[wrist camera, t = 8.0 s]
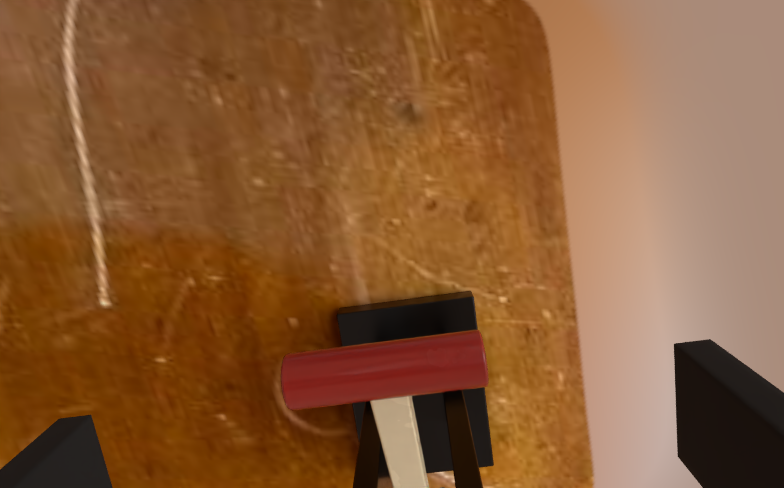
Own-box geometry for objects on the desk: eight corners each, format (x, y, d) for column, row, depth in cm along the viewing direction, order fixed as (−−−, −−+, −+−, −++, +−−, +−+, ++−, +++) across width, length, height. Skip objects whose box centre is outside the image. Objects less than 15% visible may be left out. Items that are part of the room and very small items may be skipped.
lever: (285, 331, 16) (274, 400, 14) (475, 307, 16) (490, 373, 14) (360, 531, 23) (359, 594, 21) (490, 517, 23) (501, 580, 21)
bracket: (338, 307, 33) (286, 450, 18) (471, 290, 32) (523, 423, 18) (366, 468, 35) (339, 708, 21) (491, 454, 35) (551, 689, 20)
